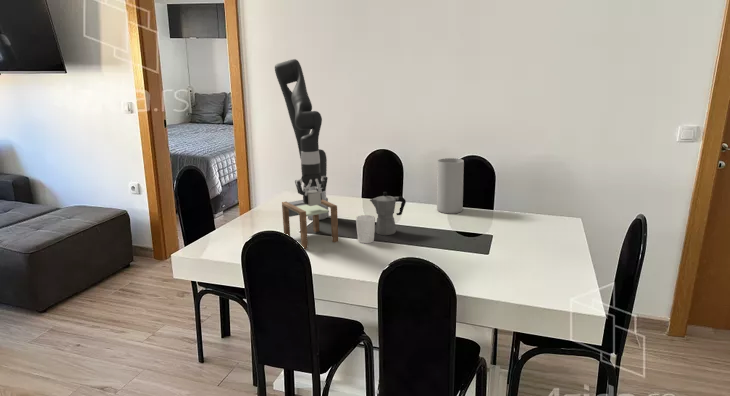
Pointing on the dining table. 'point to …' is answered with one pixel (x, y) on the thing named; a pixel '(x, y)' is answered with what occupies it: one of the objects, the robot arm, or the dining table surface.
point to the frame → (304, 223)
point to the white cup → (365, 228)
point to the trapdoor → (307, 209)
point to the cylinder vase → (450, 185)
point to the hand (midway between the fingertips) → (312, 202)
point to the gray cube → (314, 198)
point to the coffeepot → (386, 213)
